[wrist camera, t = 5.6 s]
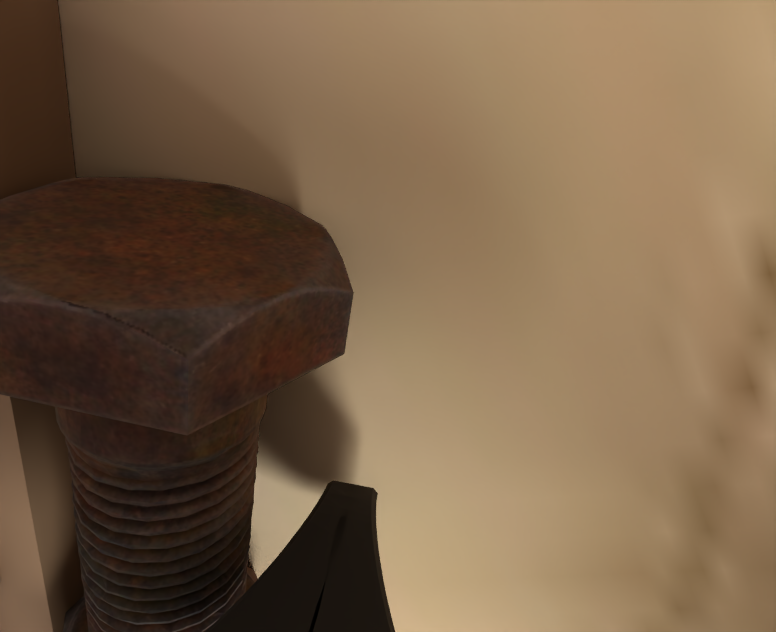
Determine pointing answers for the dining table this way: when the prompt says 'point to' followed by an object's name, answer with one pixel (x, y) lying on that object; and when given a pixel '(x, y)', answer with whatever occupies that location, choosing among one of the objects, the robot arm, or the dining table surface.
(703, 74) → the dining table surface
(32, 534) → the batten
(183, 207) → the bolt
